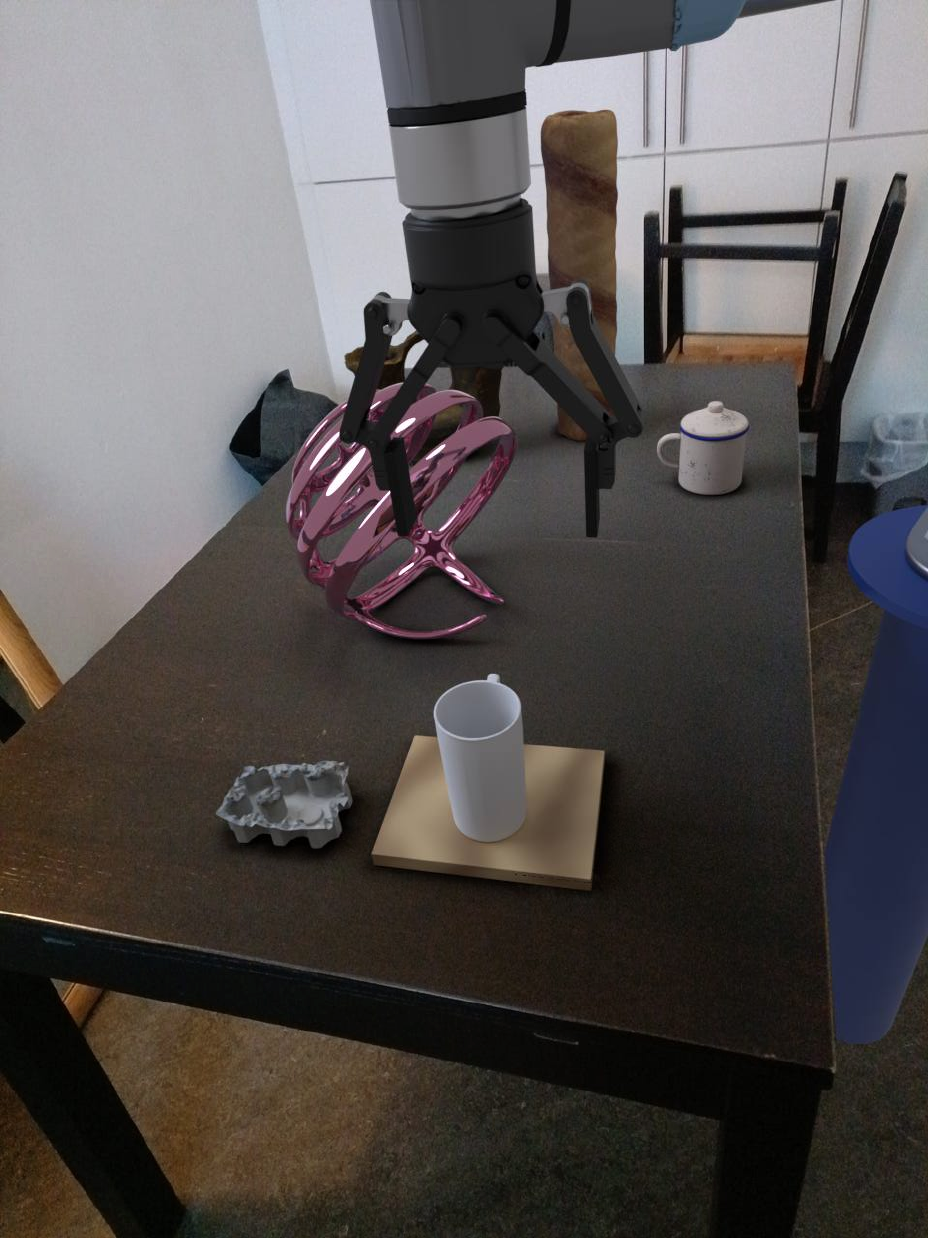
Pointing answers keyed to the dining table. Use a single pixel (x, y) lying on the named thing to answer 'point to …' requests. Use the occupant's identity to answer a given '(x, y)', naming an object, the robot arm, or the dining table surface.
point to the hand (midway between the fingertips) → (497, 527)
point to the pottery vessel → (470, 381)
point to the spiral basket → (380, 522)
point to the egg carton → (288, 802)
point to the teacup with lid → (709, 450)
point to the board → (541, 847)
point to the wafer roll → (582, 230)
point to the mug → (483, 757)
